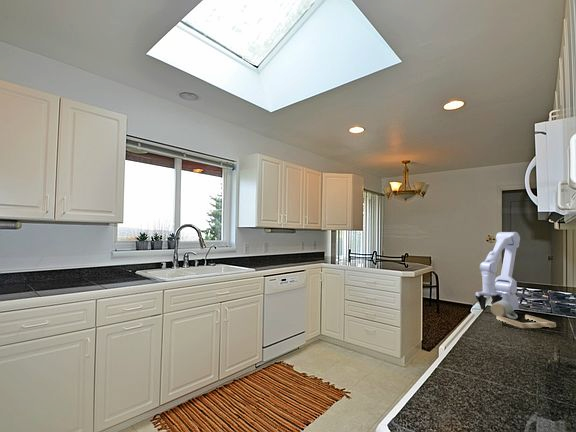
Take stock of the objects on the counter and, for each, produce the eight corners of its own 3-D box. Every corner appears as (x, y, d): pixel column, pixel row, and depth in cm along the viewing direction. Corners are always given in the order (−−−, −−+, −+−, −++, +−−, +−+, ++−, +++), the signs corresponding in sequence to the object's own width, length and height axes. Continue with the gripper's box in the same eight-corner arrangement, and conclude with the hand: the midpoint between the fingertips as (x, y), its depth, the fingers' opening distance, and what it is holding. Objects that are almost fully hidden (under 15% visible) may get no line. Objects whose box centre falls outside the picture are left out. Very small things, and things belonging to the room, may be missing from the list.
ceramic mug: (489, 315, 155) (489, 300, 155) (496, 313, 159) (496, 298, 160) (513, 321, 146) (513, 305, 146) (520, 318, 150) (520, 303, 151)
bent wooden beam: (527, 318, 150) (527, 314, 150) (556, 327, 136) (555, 322, 136) (496, 319, 147) (496, 315, 147) (522, 328, 133) (522, 323, 133)
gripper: (482, 285, 158) (483, 311, 157) (506, 285, 160) (507, 311, 159) (472, 283, 165) (473, 308, 164) (495, 283, 167) (496, 307, 166)
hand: (489, 309), depth 162 cm, fingers open, 7 cm apart
